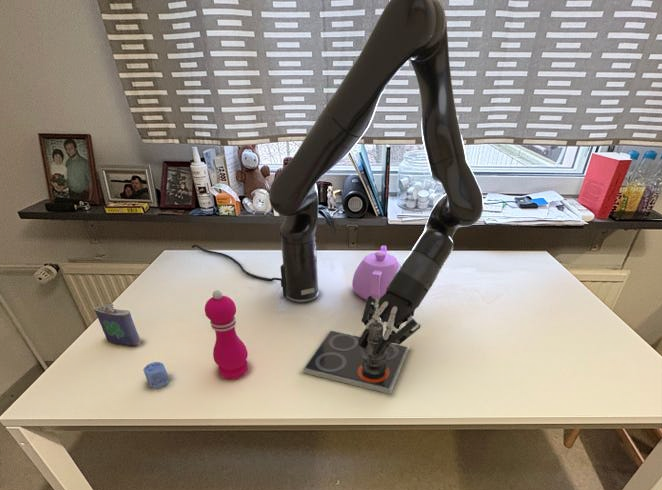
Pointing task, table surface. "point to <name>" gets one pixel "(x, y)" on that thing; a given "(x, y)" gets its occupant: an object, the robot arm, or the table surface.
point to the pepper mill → (226, 337)
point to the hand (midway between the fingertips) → (368, 351)
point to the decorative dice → (156, 374)
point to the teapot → (375, 274)
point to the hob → (353, 363)
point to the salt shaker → (371, 361)
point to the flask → (117, 326)
